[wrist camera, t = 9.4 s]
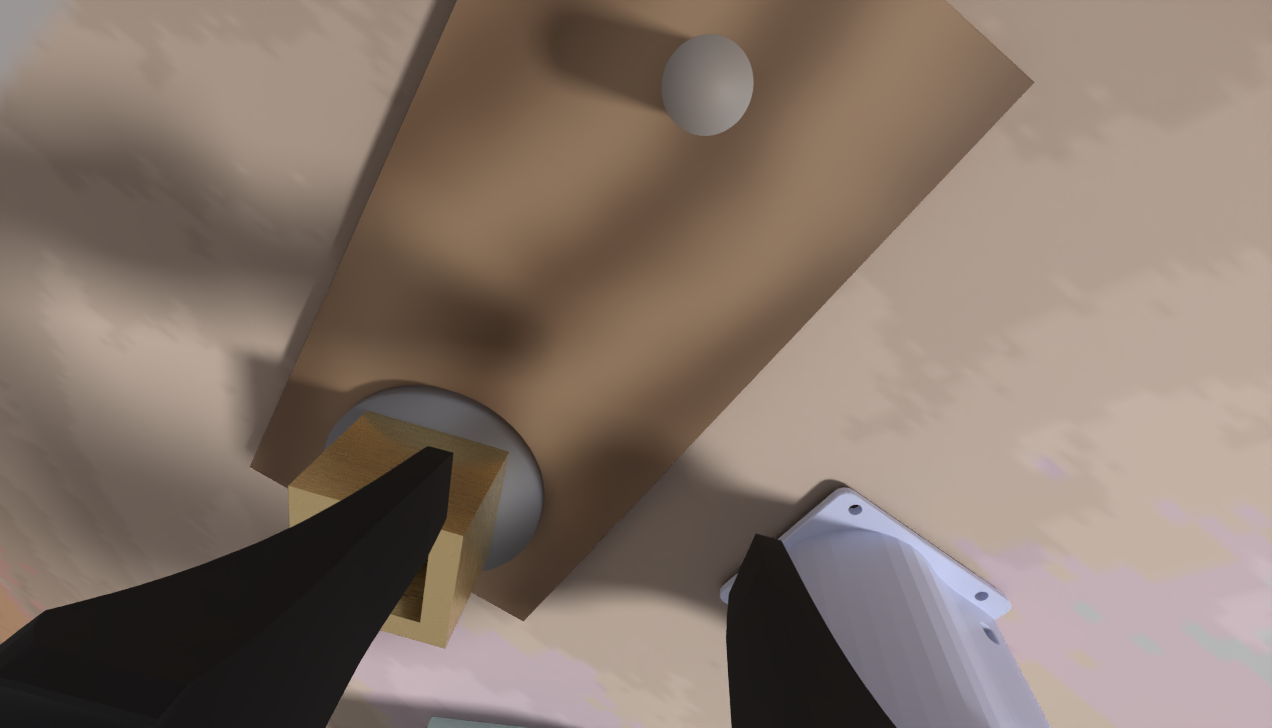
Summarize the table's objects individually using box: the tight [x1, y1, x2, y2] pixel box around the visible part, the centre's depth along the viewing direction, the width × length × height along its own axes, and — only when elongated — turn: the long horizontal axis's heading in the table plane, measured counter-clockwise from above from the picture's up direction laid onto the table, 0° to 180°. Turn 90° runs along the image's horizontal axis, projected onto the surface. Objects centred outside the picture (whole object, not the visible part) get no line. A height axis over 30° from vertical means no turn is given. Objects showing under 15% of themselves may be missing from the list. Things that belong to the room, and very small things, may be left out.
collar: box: [288, 411, 509, 648], centre depth 21 cm, size 6×6×4 cm
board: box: [250, 0, 1034, 621], centre depth 18 cm, size 14×28×5 cm, turn 145°
